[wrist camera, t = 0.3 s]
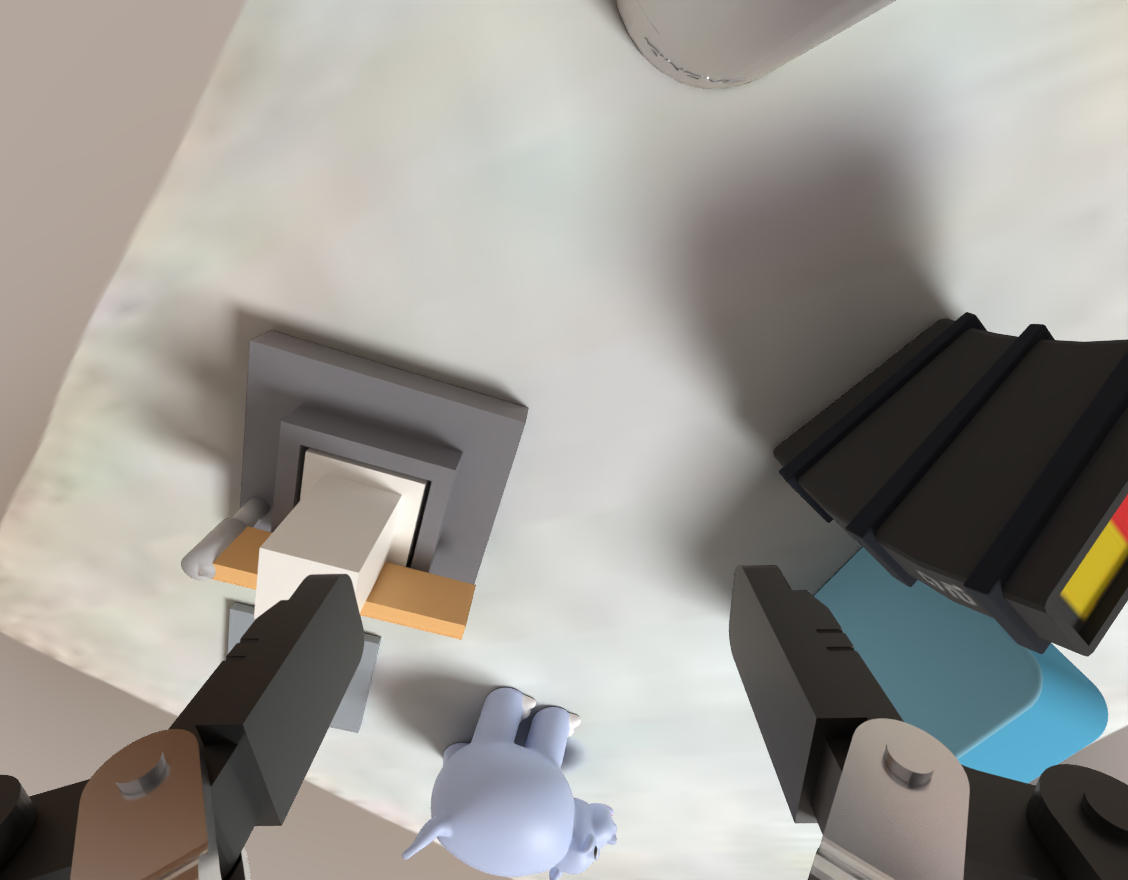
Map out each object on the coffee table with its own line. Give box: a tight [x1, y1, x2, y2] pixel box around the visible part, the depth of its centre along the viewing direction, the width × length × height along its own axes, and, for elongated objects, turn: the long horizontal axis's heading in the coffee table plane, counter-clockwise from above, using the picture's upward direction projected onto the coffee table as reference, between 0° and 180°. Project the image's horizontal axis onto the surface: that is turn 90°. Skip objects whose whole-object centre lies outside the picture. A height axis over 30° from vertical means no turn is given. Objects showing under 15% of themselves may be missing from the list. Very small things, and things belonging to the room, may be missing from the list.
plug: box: [254, 447, 430, 619], centre depth 26 cm, size 6×6×8 cm
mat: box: [228, 602, 381, 733], centre depth 38 cm, size 10×10×1 cm
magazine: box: [773, 312, 1128, 656], centre depth 23 cm, size 4×13×15 cm, turn 137°
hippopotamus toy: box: [402, 688, 617, 880], centre depth 38 cm, size 11×15×10 cm
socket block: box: [231, 330, 528, 584], centre depth 29 cm, size 14×14×4 cm
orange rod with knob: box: [181, 518, 476, 639], centre depth 27 cm, size 2×14×3 cm, turn 72°
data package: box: [814, 547, 1108, 783], centre depth 29 cm, size 12×4×12 cm, turn 151°
